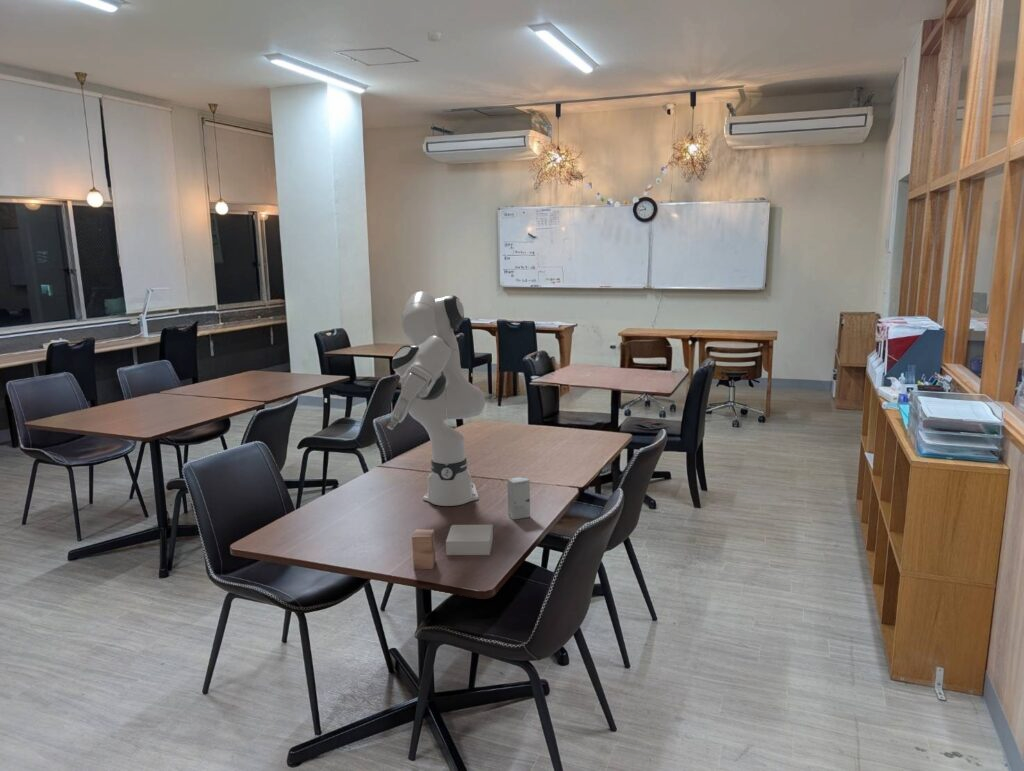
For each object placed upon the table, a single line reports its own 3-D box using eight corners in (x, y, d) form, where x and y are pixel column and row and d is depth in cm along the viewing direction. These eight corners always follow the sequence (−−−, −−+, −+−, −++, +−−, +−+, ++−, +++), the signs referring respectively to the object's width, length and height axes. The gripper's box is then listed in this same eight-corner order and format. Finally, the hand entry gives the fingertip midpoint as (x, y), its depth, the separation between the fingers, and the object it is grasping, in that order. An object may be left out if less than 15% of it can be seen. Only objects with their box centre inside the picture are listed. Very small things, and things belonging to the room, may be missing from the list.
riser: (452, 537, 204) (451, 524, 203) (493, 537, 204) (492, 524, 203) (446, 555, 192) (445, 541, 192) (489, 554, 192) (489, 541, 191)
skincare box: (513, 520, 217) (512, 482, 214) (507, 515, 221) (506, 478, 218) (531, 516, 219) (530, 479, 217) (525, 512, 223) (524, 476, 221)
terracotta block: (417, 560, 189) (415, 529, 188) (435, 560, 189) (433, 529, 187) (413, 569, 184) (411, 536, 183) (432, 568, 184) (430, 536, 183)
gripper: (400, 392, 206) (377, 429, 199) (413, 362, 189) (387, 402, 182) (419, 402, 207) (396, 440, 200) (433, 374, 189) (408, 414, 182)
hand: (392, 422), depth 191 cm, fingers open, 8 cm apart
